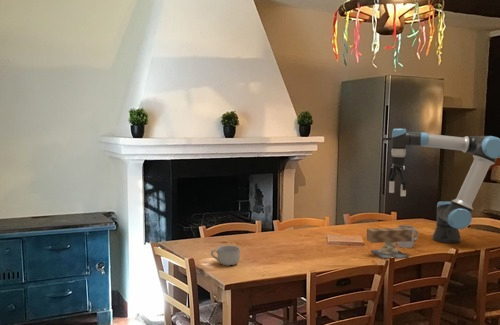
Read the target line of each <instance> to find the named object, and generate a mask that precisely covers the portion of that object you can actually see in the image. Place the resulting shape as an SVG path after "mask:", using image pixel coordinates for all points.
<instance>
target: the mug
mask: <svg viewBox="0 0 500 325" xmlns="http://www.w3.org/2000/svg"><path fill="white" fill-rule="evenodd" d="M405 227H406V228H409V229H411V230H412V241H409V242H397V247H399V248H403V249H411V248H412V247H413V248H414V246H415V245H414V243H415V241H417V240H418V237H419V233H418V232H419V231H418V230H417V229H416V228H415V227H414V226H412V225H406V224H405V225H404V224H402V225H398V226H397V228H405ZM414 236H415V237H414Z"/></svg>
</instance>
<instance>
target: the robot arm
mask: <svg viewBox="0 0 500 325" xmlns="http://www.w3.org/2000/svg"><path fill="white" fill-rule="evenodd" d="M409 146H411V147H412V146H413V147H423V148H424V147H425V148H433V149H434V148H435V149H437V148H438V149H444V150H453V151H462V152H463V153H464V154H466V153H467V154H471V155H472V157H473V161H472V164H471V165H470V168H469V170H468V173H467V174H466V176H465V178H464V181H463V183H462V185H461V187H460V190H459V191H458V194H457V196H456V198H455V199H451V201H438V202H437V205H436V226H435V229H434V232H433V234H432V240H433V241H435V242H439V243H443V244H444V243H445V244H458V243H461V240H462V238H461V234H460V232H459V230H462V229H463V230H464V229H466V228H467V227H468V226H470V225H471V223H472V221H473V220H472V219H473V217H472V213H473V211H474V208H473V203H474V201H475V199H476V197H477V195H478V192H479V191H480V188H481V186H482V185H483V184H482V183H483V182H484V179H485V178H486V175H487V174H488V173H487V172H488V171H489V169H490V167H491V166H492V165H495V164H496V161H497V159H499V158H500V138H499V137H497V136H493V135H480V136H479V135H477V136H475V135H473V136H472V135H471V136H469V135H466V136H463V137H461V136H452V135H442V134H435V133H434V134H433V133H428V132H423V131H422V132H421V131H420V132H419V131H418V132H417V131H407V129H406V128H393V129H392V133H391V151H390V153H391V159H390V161H391V164H390V168H389V172H388V174H387V180H388V181H389V182H388V183H389V185H388V186H389V187H388V193H391V194H394V193H395V179H396V176H397V175H398V177H399V180H400V197H406V195H407V184H409V182H410V181H409V177H408V173H407V165H404V164H406V157H405V156H406V155H407V154H406V153H407V152H406V151H407V147H409Z"/></svg>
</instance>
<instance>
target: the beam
mask: <svg viewBox="0 0 500 325" xmlns="http://www.w3.org/2000/svg"><path fill="white" fill-rule="evenodd" d="M366 241H368V242H369V243H371V244H374V243H375V244H378V243H379V244H380V243H384V242H395V243H398V242H409V241H412V230H411V229H409V228H406V227H405V228H398V227H384V228H383V227H380V228H379V227H378V228H375V227H373V228H366Z"/></svg>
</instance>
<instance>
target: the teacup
mask: <svg viewBox="0 0 500 325" xmlns="http://www.w3.org/2000/svg"><path fill="white" fill-rule="evenodd" d="M240 250H241V248H240V247H239V246H237V245H233V244H228V245H226V244H225V245H221V246H218V248H217V249H216V248H214V249H212V250H211V251H210V256H211V257H212V258H213V259H214V260H216V261H217V262H219V263H220V264H221V265H222V266H225V265H226V266H225V267H231V266H230V265H233V266H235V265H237V263H238V262H239V261H240V256H241V255H240V254H241V253H240ZM214 252H216V253H217V256H216V255H214Z"/></svg>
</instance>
